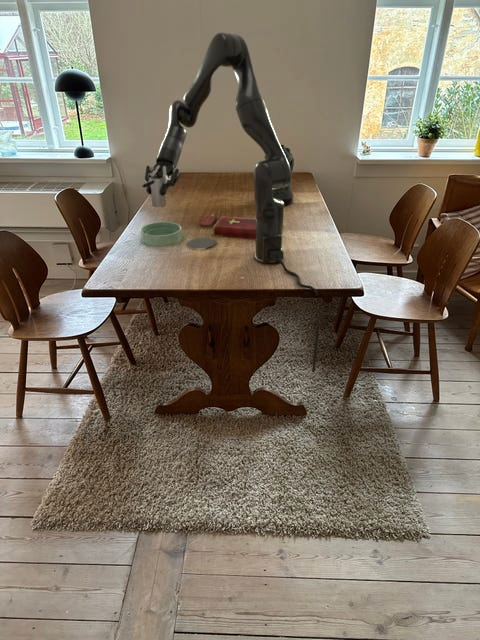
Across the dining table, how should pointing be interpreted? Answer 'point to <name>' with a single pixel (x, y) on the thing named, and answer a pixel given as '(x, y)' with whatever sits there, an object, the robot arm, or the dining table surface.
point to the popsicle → (208, 220)
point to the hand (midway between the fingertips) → (155, 193)
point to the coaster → (201, 243)
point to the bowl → (161, 233)
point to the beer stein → (286, 192)
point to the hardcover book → (235, 227)
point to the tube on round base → (156, 191)
